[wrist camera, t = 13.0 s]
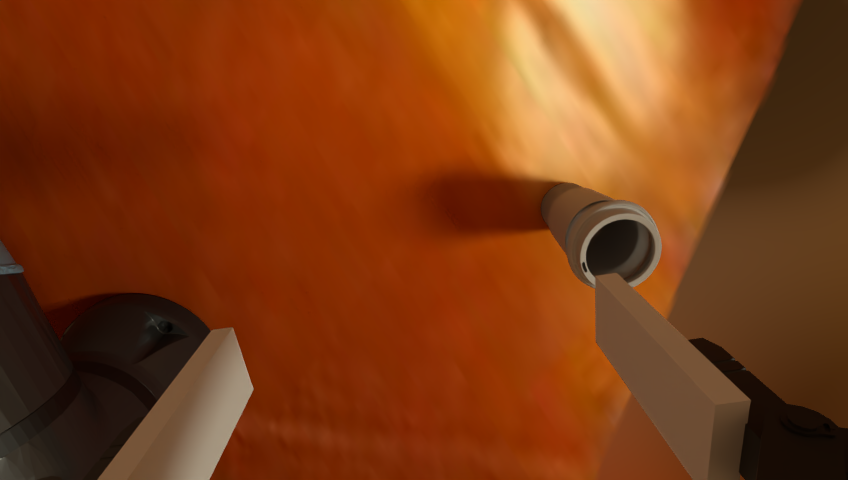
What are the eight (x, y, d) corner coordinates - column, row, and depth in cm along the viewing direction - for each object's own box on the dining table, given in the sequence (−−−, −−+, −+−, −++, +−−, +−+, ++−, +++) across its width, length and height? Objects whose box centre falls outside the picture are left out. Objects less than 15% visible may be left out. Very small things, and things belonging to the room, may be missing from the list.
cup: (520, 186, 42) (561, 227, 31) (588, 158, 41) (656, 189, 30) (542, 251, 44) (588, 311, 33) (607, 225, 44) (677, 278, 32)
